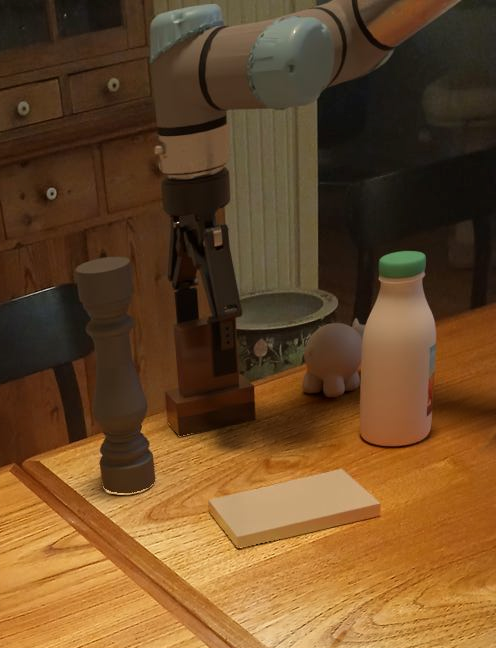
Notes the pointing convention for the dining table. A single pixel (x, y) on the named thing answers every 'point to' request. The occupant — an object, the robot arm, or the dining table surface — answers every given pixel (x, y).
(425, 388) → the milk bottle
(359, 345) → the round bodied animal figurine
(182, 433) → the stepped wooden block
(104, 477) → the candle holder
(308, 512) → the tile
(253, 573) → the dining table surface
